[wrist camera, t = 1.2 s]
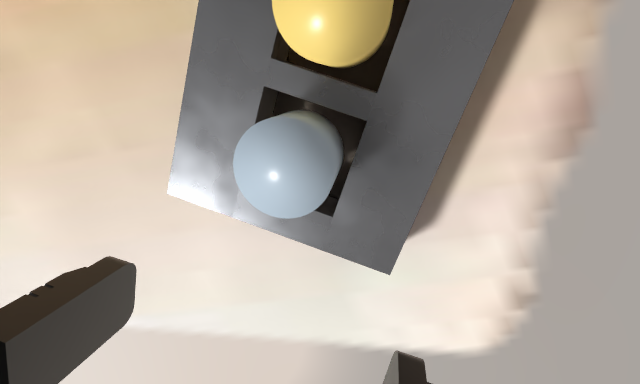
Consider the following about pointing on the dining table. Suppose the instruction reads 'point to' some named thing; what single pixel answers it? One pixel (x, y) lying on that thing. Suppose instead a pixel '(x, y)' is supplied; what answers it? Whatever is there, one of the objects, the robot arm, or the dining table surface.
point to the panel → (374, 107)
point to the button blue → (288, 163)
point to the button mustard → (334, 28)
